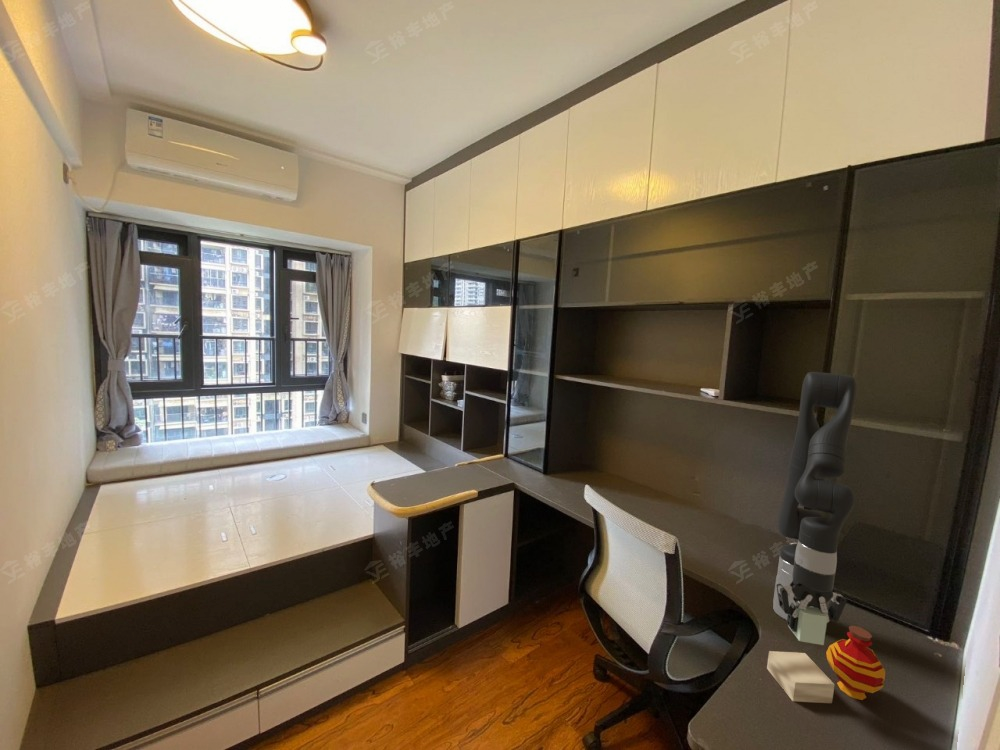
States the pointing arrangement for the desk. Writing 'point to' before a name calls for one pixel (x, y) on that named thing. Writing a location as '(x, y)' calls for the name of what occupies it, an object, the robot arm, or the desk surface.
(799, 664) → the beech base
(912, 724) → the desk surface
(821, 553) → the robot arm
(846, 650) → the potion bottle
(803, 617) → the green block
